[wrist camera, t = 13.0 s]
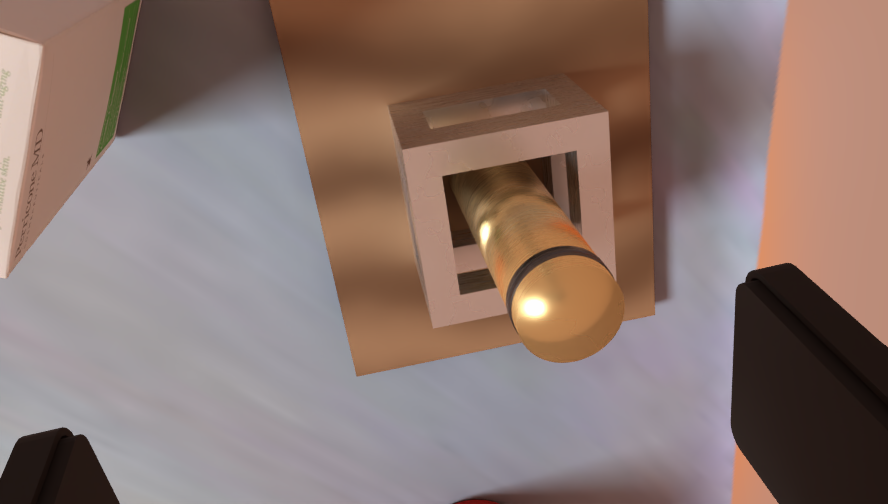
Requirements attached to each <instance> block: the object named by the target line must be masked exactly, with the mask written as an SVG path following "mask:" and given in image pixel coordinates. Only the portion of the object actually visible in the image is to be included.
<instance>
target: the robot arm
mask: <svg viewBox="0 0 888 504" xmlns="http://www.w3.org/2000/svg"><path fill="white" fill-rule="evenodd" d="M731 428H732V433H733V436H734V439H735V441H736V443H737V445H738V447H739V449H740V450H741V451H742V453H743V454H744V456H745V457H746V458H747V460H748V461H749V463H750V464H751V465H752V467H753V468H754V470H755V471H756V472H757V474H758V475H759V477H760V478H761V479H762V481H763V482H764V483H765V485H766V486H767V488H768V489H769V490H770V492H771V493H772V495H773V496H774V498H775V499H776V500H777V502H778V503H779V504H888V347H887V346H886V345H884V344H883V343H882V342H880V341H879V340H878V339H877V338H876V337H875V336H874V335H873V334H871V333H870V332H869V331H868V330H867V329H866V328H865V327H864V326H862V325H861V324H860V323H859V322H858V321H857V320H856V319H854V318H853V317H852V316H851V315H850V314H849V313H848V312H847V311H846V310H844V309H843V308H842V307H841V306H840V305H839V304H838V303H837V302H835V301H834V300H833V299H832V298H831V297H830V296H829V295H828V294H826V293H825V292H824V291H823V290H822V289H821V288H820V287H819V286H817V285H816V284H815V283H814V282H813V281H812V280H811V279H810V278H808V277H807V276H806V275H805V274H804V273H803V272H802V271H801V270H799V269H798V268H797V267H796V266H794V265H793V264H791V263H784V264H780V265H775V266H771V267H766V268H762V269H758V270H753V271H751V272H749V273H748V275H747V277H746V281H745V283H741V284H739V285H738V287H737V289H736V299H735V325H734V351H733V377H732V402H731ZM0 504H120V503H119V501H118V499H117V497H116V495H115V493H114V491H113V489H112V487H111V485H110V483H109V481H108V479H107V477H106V475H105V473H104V471H103V469H102V467H101V465H100V463H99V461H98V459H97V457H96V455H95V453H94V451H93V449H92V447H91V445H90V443H89V441H88V439H87V438H86V437H85V436H84V435H81V434H80V435H75V436H74V435H73V434H72V432H71V431H70V430H69V429H67V428H63V427H62V428H58V429H54V430H49V431H45V432H40V433H36V434H32V435H27V436H23V437H21V438H19V439H18V441H17V442H16V444H15V446H14V448H13V450H12V453H11V455H10V457H9V460H8V462H7V464H6V467H5V469H4V471H3V474H2V476H1V478H0Z"/></svg>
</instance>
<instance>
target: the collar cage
mask: <svg viewBox="0 0 888 504" xmlns="http://www.w3.org/2000/svg"><path fill="white" fill-rule="evenodd" d="M388 111H389V117H390V122H391V128H392V134H393V139H394V145H395V150H396V156H397V162H398V167H399V173H400V178H401V184H402V190H403V195H404V201H405V207H406V212H407V218H408V223H409V229H410V235H411V240H412V246H413V252H414V257H415V263H416V267H417V271H418V274H419V278H420V282H421V285H422V289H423V293H424V297H425V300H426V304H427V308H428V311H429V315H430V319H431V322H432V326H433V329H434V328H438V327H443V326H448V325H453V324H458V323H463V322H468V321H473V320H478V319H483V318H487V317H492V316H497V315H502V314H507V308H506V306H505V304H504V302H503V300H502V297H501V295H500V293H499V291H498V289H497V286H496V284H495V282H494V280H493V278H492V276H491V273H490V271H489V269H488V268H487V265H486V263H485V260H484V258H483V256H482V254H481V252H480V250H479V247H478V245H477V243H476V241H475V239H474V237H473V234H472V232H471V230H470V228H467V229H462V230H457V231H451V232H450V225H449V219H448V212H447V206H446V199H445V193H444V186H443V179H442V176H445V175H450V174H456V173H461V172H466V171H471V170H477V169H482V168H487V167H493V166H498V165H503V164H508V163H514V162H519V161H524V160H529V159H535V158H540V157H541V158H542V169H543V180H544V186H545V188H546V189H547V190H548V192H549V193H550V194H551V196H552V197H553V198H554V200H555V201H556V202H557V204H558V205H559V206H560V208H561V209H562V210H563V212H564V213H565V214H566V216H567V217H568V218H569V220H570V221H571V222H572V224H573V225H574V226H575V228H576V229H577V230H578V232H579V233H580V234H581V236H582V237H583V238H584V240H585V241H586V242H587V244H588V245H589V246H590V247H591V249H592V250H593V251H594V253H595V254H596V255H597V256H598V257H599V258H600V259H601V260H602V261H603V263H604V264H605V265H606V266H607V268H608V269H609V270H610V272H611V273H612V275H613V277H614V279H615V281H616V262H615V241H614V220H613V198H612V177H611V156H610V135H609V114H608V111H607V110H606V109H605V108H604V107H603V106H602V105H600V104H599V103H598V102H597V101H596V100H594V99H593V98H592V97H591V96H590V95H589V94H587V93H586V92H585V91H584V90H583V89H581V88H580V87H579V86H578V85H577V84H576V83H574V82H573V81H572V80H571V79H570V78H568V77H567V76H566V75H565V74H564V73H561V74H556V75H550V76H545V77H539V78H534V79H528V80H523V81H518V82H512V83H507V84H501V85H496V86H490V87H485V88H479V89H474V90H468V91H463V92H457V93H452V94H446V95H441V96H435V97H430V98H424V99H419V100H413V101H408V102H402V103H397V104H392V105H388ZM482 268H487V269H482ZM477 269H482V270H477ZM472 270H477V271H472ZM467 271H472V272H467ZM462 272H467V273H462ZM457 273H462V274H457Z"/></svg>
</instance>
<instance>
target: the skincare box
mask: <svg viewBox="0 0 888 504" xmlns="http://www.w3.org/2000/svg"><path fill="white" fill-rule="evenodd" d="M141 3H142V0H0V277H1V278H7V277H8V276H9V274H10V273H11V271H12V270H13V269H14V267H15V266H16V265H17V264H18V262H19V261H20V260H21V258H22V257H23V256H24V254H25V252H26V251H27V250H28V249H29V248H30V247H31V246H32V244H33V243H34V242H35V240H36V239H37V238H38V237H39V235H40V234H41V233H42V232H43V230H44V229H45V228H46V226H47V225H48V224H49V223H50V221H51V220H52V219H53V217H54V216H55V215H56V214H57V212H58V211H59V210H60V209H61V207H62V206H63V205H64V203H65V202H66V201H67V199H68V198H69V197H70V196H71V194H72V193H73V192H74V191H75V189H76V188H77V187H78V186H79V184H80V183H81V182H82V180H83V179H84V178H85V177H86V175H87V174H88V173H89V172H90V170H91V169H92V168H93V167H94V165H95V164H96V163H97V161H98V160H99V159H100V158H101V157H102V155H103V154H104V153H105V151H106V150H107V149H108V148H109V146H110V145H111V144H112V143H113V141H114V139H115V135H116V129H117V124H118V118H119V114H120V109H121V105H122V100H123V96H124V90H125V85H126V80H127V75H128V69H129V64H130V59H131V53H132V48H133V43H134V37H135V32H136V27H137V22H138V17H139V13H140V8H141Z"/></svg>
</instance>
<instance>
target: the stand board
mask: <svg viewBox="0 0 888 504" xmlns="http://www.w3.org/2000/svg"><path fill="white" fill-rule="evenodd" d="M269 2H270V7H271V11H272V15H273V19H274V24H275V28H276V32H277V37H278V41H279V45H280V49H281V54H282V58H283V62H284V67H285V71H286V75H287V79H288V84H289V88H290V92H291V97H292V101H293V105H294V109H295V114H296V118H297V122H298V127H299V131H300V135H301V139H302V144H303V148H304V152H305V157H306V161H307V165H308V169H309V174H310V178H311V182H312V187H313V191H314V195H315V199H316V204H317V208H318V212H319V217H320V221H321V225H322V229H323V234H324V238H325V242H326V247H327V251H328V255H329V259H330V264H331V268H332V272H333V277H334V281H335V285H336V289H337V294H338V298H339V302H340V307H341V311H342V315H343V319H344V324H345V328H346V332H347V337H348V341H349V345H350V349H351V354H352V358H353V362H354V367H355V371H356V375H357V376H362V375H367V374H371V373H376V372H381V371H386V370H391V369H396V368H400V367H405V366H410V365H415V364H420V363H425V362H429V361H434V360H439V359H444V358H449V357H454V356H458V355H463V354H468V353H473V352H478V351H483V350H487V349H492V348H497V347H502V346H507V345H512V344H516V343H521V342H522V340H521V339H520V336H519V335H518V333H517V332H516V330H515V328H514V327H513V324H512V322H511V320H510V318H509V315H508V313H507V314H502V315H497V316H492V317H487V318H483V319H478V320H473V321H468V322H463V323H458V324H453V325H448V326H443V327H438V328H434V329H433V326H432V322H431V319H430V315H429V311H428V308H427V304H426V300H425V297H424V293H423V289H422V285H421V282H420V278H419V274H418V271H417V267H416V263H415V257H414V252H413V246H412V240H411V235H410V229H409V223H408V218H407V212H406V207H405V201H404V195H403V190H402V184H401V178H400V173H399V167H398V162H397V156H396V150H395V145H394V139H393V134H392V128H391V122H390V117H389V111H388V105H392V104H397V103H402V102H408V101H413V100H419V99H424V98H430V97H435V96H441V95H446V94H452V93H457V92H463V91H468V90H474V89H479V88H485V87H490V86H496V85H501V84H507V83H512V82H518V81H523V80H528V79H534V78H539V77H545V76H550V75H556V74H561V73H564V74H565V75H566V76H567V77H568V78H570V79H571V80H572V81H573V82H574V83H576V84H577V85H578V86H579V87H580V88H581V89H583V90H584V91H585V92H586V93H587V94H589V95H590V96H591V97H592V98H593V99H594V100H596V101H597V102H598V103H599V104H600V105H602V106H603V107H604V108H605V109H606V110H607V111H608V114H609V135H610V156H611V177H612V198H613V220H614V241H615V262H616V282H617V284H618V285H619V287H620V288H621V291H622V293H623V297H624V302H625V311H624V317H623V320H622V322H623V321H627V320H632V319H637V318H642V317H647V316H652V315H655V296H654V252H653V208H652V164H651V119H650V75H649V31H648V0H269ZM525 161H526V162H527V164H528V165H529V166H530V168H531V169H532V170H533V172H534V173H535V174H536V176H537V177H538V178H539V180H540V181H541V182H542V184H543V185H544V180H543V169H542V158H541V157H540V158H535V159H529V160H525ZM442 179H443V186H444V193H445V199H446V206H447V212H448V219H449V225H450V232H451V231H457V230H462V229H467V228H469V226H468V223H467V221H466V219H465V217H464V215H463V213H462V210H461V208H460V206H459V204H458V202H457V200H456V197H455V195H454V193H453V191H452V189H451V186H450V183H449V175H445V176H442ZM487 268H488V267H487ZM487 268H482V269H487ZM482 269H477V270H482ZM477 270H472V271H477ZM472 271H467V272H472ZM467 272H462V273H467ZM462 273H457V274H462Z"/></svg>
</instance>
